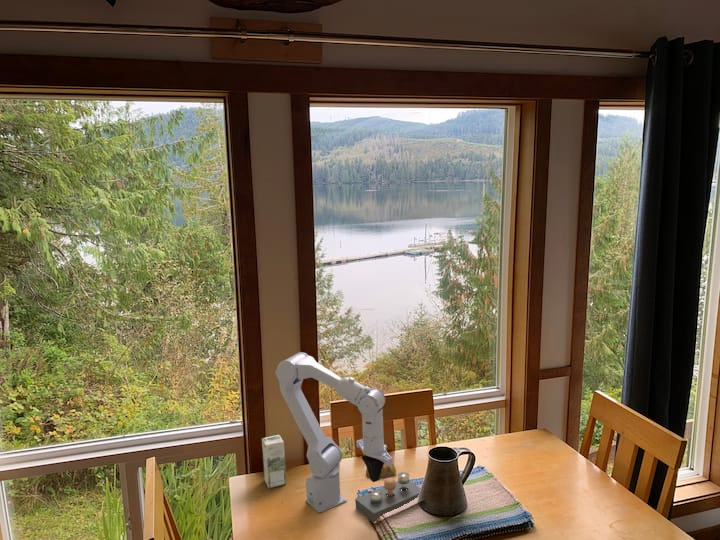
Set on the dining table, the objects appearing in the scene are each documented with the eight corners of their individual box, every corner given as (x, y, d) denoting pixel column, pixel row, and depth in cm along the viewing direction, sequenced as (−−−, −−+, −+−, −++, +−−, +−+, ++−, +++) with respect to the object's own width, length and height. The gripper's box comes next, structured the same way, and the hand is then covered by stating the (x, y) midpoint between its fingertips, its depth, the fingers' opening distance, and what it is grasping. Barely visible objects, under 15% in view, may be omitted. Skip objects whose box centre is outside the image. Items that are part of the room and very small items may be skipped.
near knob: (375, 514, 147) (374, 498, 146) (368, 508, 150) (367, 493, 149) (384, 509, 149) (383, 494, 148) (377, 504, 151) (377, 489, 151)
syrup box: (281, 476, 171) (279, 433, 169) (286, 485, 165) (283, 440, 163) (264, 480, 168) (261, 437, 167) (268, 489, 163) (265, 444, 161)
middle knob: (389, 500, 150) (388, 484, 149) (382, 495, 152) (381, 480, 152) (398, 496, 151) (397, 481, 151) (391, 491, 154) (390, 476, 153)
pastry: (369, 481, 166) (369, 469, 165) (363, 471, 172) (362, 460, 172) (397, 475, 168) (397, 464, 168) (390, 466, 175) (390, 455, 174)
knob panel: (374, 523, 143) (373, 513, 143) (355, 508, 151) (355, 498, 150) (425, 500, 153) (424, 490, 153) (405, 487, 161) (405, 478, 160)
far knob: (403, 494, 152) (402, 479, 152) (396, 489, 155) (395, 474, 154) (411, 490, 154) (411, 475, 153) (404, 486, 157) (404, 471, 156)
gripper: (401, 438, 143) (402, 486, 144) (369, 421, 155) (371, 465, 156) (379, 446, 139) (381, 495, 140) (349, 428, 151) (351, 473, 152)
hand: (375, 480), depth 148 cm, fingers closed
